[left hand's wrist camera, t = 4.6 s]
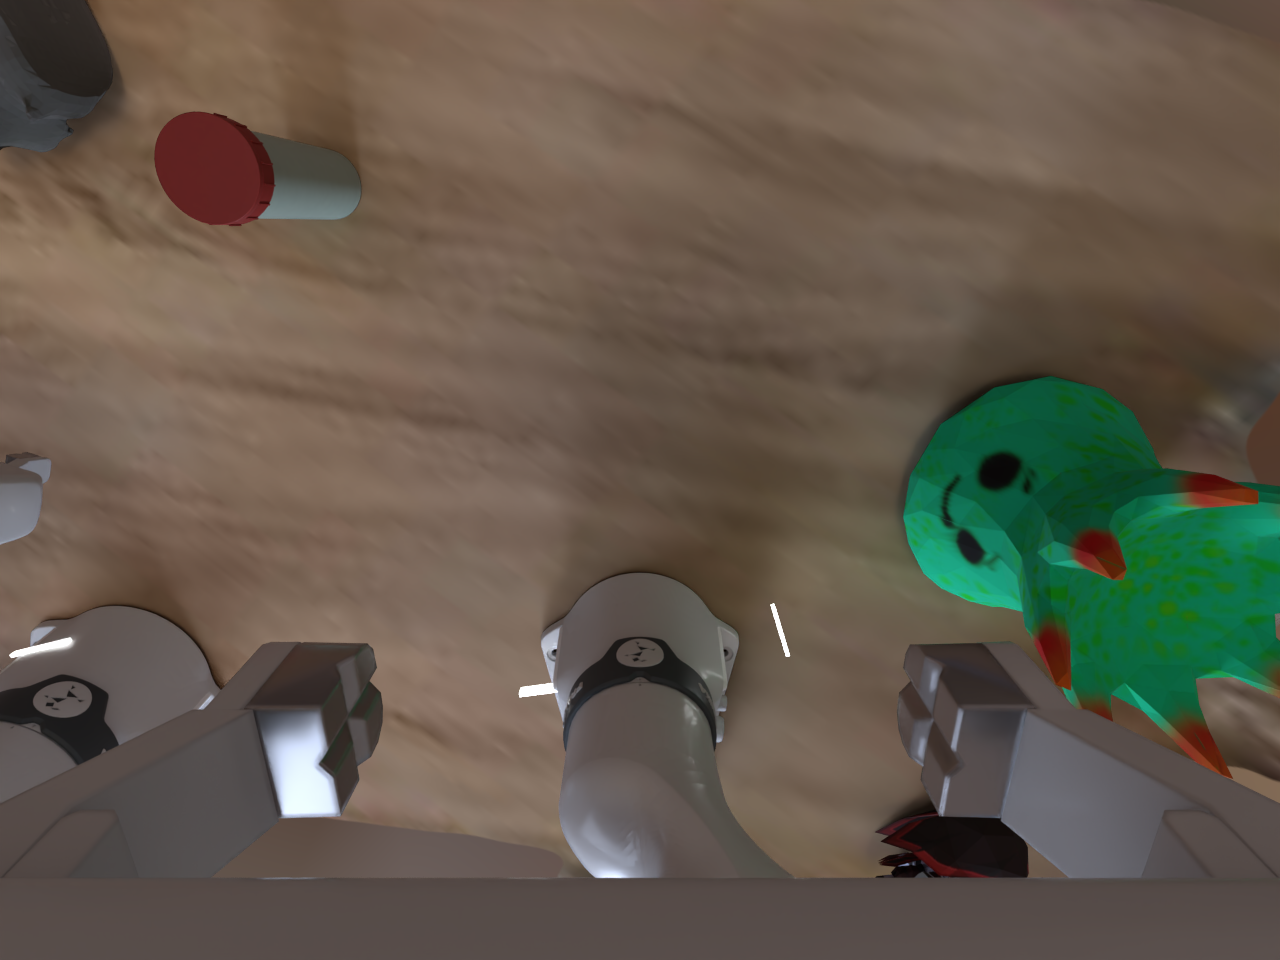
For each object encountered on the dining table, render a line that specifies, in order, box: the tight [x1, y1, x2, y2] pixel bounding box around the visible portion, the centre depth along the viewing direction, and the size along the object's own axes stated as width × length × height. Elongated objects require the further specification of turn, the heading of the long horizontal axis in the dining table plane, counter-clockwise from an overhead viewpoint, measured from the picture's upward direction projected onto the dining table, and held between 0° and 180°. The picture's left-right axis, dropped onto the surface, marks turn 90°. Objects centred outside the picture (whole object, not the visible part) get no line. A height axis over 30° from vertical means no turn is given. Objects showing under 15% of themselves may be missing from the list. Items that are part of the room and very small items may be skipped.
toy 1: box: [875, 810, 1029, 878], centre depth 70 cm, size 12×9×15 cm
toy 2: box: [903, 376, 1280, 778], centre depth 49 cm, size 20×20×25 cm
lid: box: [155, 112, 276, 226], centre depth 38 cm, size 6×6×2 cm
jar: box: [251, 131, 361, 219], centre depth 45 cm, size 5×5×15 cm
